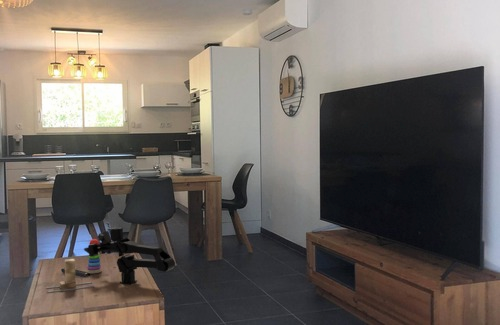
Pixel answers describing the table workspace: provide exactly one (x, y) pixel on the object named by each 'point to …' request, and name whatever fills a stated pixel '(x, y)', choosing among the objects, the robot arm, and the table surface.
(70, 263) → the stepped wooden block
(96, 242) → the stacking toy
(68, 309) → the table surface
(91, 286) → the track
